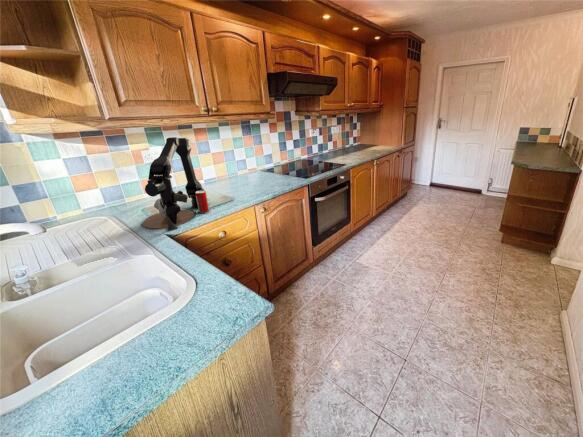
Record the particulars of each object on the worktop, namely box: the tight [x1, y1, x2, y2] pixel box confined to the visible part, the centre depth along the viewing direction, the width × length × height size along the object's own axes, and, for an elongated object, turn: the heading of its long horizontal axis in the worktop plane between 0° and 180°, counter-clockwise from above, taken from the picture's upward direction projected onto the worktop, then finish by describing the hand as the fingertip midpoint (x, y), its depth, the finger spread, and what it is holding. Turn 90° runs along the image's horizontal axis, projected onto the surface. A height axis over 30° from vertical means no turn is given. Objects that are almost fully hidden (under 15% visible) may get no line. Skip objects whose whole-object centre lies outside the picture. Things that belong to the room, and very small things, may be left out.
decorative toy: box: [153, 197, 178, 218], centre depth 135 cm, size 12×10×20 cm
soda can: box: [196, 189, 210, 214], centre depth 141 cm, size 6×6×12 cm
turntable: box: [142, 209, 195, 232], centre depth 134 cm, size 29×25×7 cm
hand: (173, 221), depth 123 cm, fingers open, 8 cm apart
